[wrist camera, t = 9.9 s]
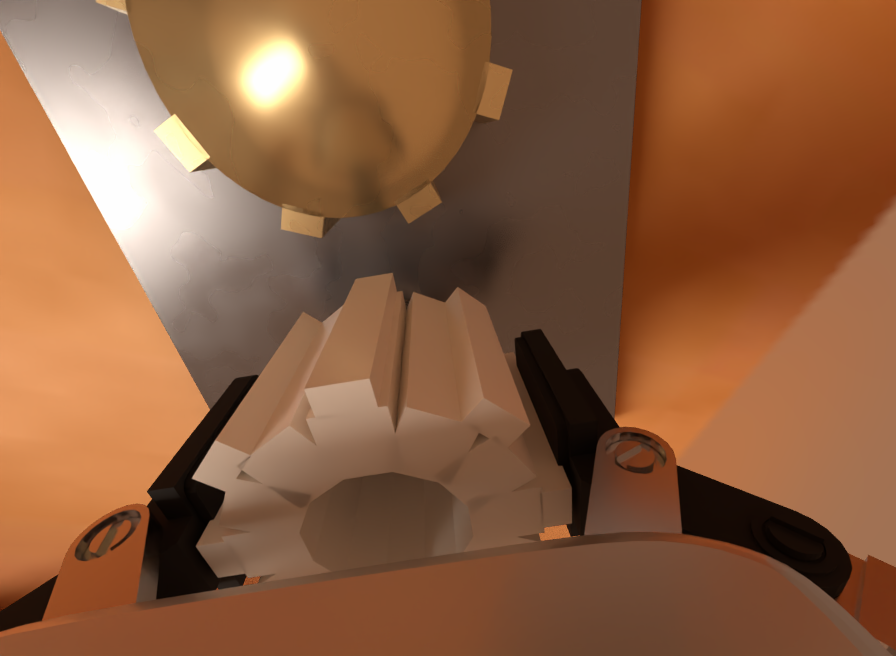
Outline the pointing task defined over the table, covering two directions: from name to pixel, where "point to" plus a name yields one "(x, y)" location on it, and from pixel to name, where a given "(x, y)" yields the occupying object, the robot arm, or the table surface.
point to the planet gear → (381, 444)
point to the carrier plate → (378, 234)
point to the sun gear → (321, 96)
